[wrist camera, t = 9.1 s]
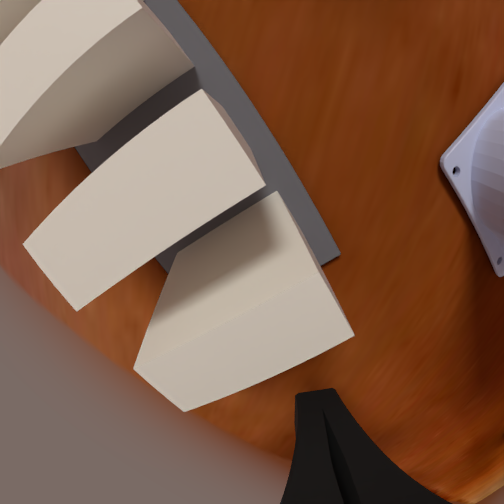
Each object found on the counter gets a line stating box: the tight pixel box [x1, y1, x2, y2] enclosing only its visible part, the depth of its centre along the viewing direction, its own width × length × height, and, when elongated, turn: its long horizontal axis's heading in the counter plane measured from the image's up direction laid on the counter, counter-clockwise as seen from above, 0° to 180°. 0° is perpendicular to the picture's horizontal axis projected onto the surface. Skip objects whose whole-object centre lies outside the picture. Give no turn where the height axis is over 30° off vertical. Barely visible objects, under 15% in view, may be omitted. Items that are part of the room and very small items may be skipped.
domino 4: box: [133, 191, 354, 412], centre depth 10 cm, size 2×5×7 cm, turn 122°
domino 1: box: [0, 0, 144, 45], centre depth 6 cm, size 2×5×7 cm, turn 122°
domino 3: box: [23, 89, 266, 311], centre depth 9 cm, size 2×5×7 cm, turn 122°
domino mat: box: [75, 0, 341, 274], centre depth 10 cm, size 22×7×1 cm, turn 32°
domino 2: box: [0, 0, 195, 169], centre depth 7 cm, size 2×5×7 cm, turn 122°
